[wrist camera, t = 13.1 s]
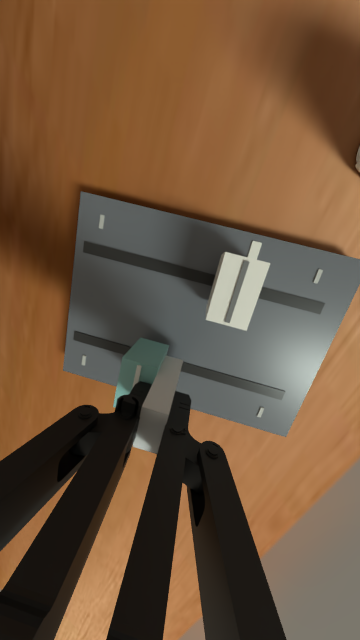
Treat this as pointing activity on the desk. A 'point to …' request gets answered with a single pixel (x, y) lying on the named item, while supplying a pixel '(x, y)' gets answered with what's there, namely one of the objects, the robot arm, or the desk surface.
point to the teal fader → (140, 365)
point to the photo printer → (358, 160)
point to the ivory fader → (236, 290)
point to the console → (203, 309)
